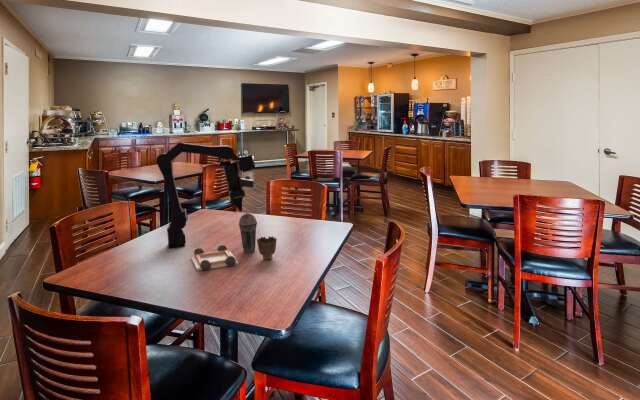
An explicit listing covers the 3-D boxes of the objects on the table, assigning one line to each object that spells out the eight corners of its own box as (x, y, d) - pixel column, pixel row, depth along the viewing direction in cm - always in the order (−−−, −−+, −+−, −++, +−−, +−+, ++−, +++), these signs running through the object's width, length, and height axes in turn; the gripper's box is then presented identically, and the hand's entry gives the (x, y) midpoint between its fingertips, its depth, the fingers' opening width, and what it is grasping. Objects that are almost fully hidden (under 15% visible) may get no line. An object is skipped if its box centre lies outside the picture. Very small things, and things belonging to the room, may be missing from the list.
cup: (277, 255, 164) (277, 235, 163) (276, 261, 157) (275, 241, 155) (258, 255, 164) (257, 236, 162) (256, 262, 157) (255, 241, 155)
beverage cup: (260, 248, 173) (258, 201, 169) (255, 254, 166) (253, 205, 162) (243, 248, 173) (240, 201, 170) (237, 254, 166) (235, 205, 162)
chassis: (197, 271, 148) (196, 262, 147) (191, 258, 163) (190, 249, 162) (239, 265, 154) (238, 255, 153) (229, 252, 169) (229, 243, 168)
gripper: (252, 173, 172) (260, 209, 176) (248, 168, 190) (255, 201, 194) (225, 179, 170) (234, 215, 174) (223, 173, 188) (231, 206, 191)
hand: (240, 209), depth 183 cm, fingers open, 9 cm apart
